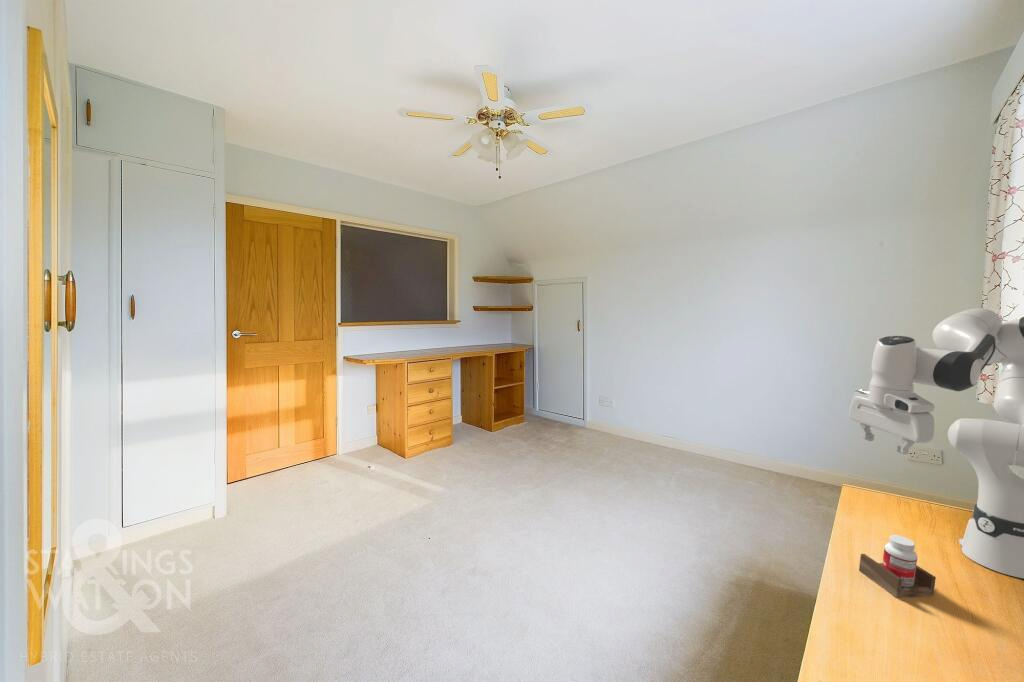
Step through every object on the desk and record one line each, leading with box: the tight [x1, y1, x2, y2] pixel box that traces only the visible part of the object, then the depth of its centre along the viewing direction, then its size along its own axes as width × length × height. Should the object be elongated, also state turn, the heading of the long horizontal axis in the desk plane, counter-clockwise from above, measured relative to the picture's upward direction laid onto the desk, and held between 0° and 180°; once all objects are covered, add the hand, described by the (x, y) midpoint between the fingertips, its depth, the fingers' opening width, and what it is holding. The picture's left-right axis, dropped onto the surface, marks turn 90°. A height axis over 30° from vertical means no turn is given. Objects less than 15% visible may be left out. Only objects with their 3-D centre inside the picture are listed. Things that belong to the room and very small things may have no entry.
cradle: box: [858, 553, 937, 599], centre depth 108 cm, size 10×10×5 cm
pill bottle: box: [881, 534, 918, 588], centre depth 107 cm, size 6×6×11 cm
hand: (884, 446), depth 115 cm, fingers open, 8 cm apart
